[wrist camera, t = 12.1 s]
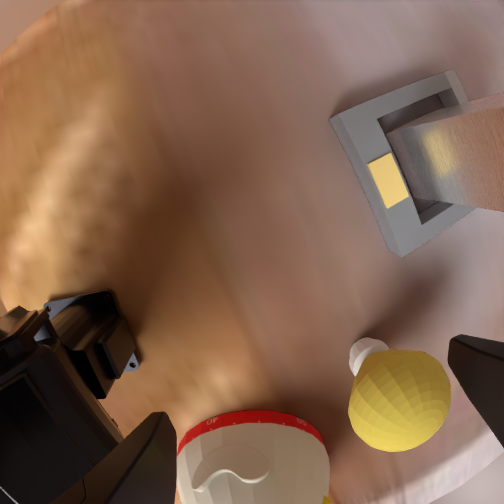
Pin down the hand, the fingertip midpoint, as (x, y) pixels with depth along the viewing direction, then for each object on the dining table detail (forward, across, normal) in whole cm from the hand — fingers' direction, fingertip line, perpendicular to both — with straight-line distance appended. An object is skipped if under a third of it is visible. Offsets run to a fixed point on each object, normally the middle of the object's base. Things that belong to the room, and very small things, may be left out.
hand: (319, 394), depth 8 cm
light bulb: (+13, -6, +8) cm, 17 cm away
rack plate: (+13, -13, -6) cm, 19 cm away
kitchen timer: (+13, +5, +18) cm, 23 cm away
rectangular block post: (+13, -13, -6) cm, 19 cm away
